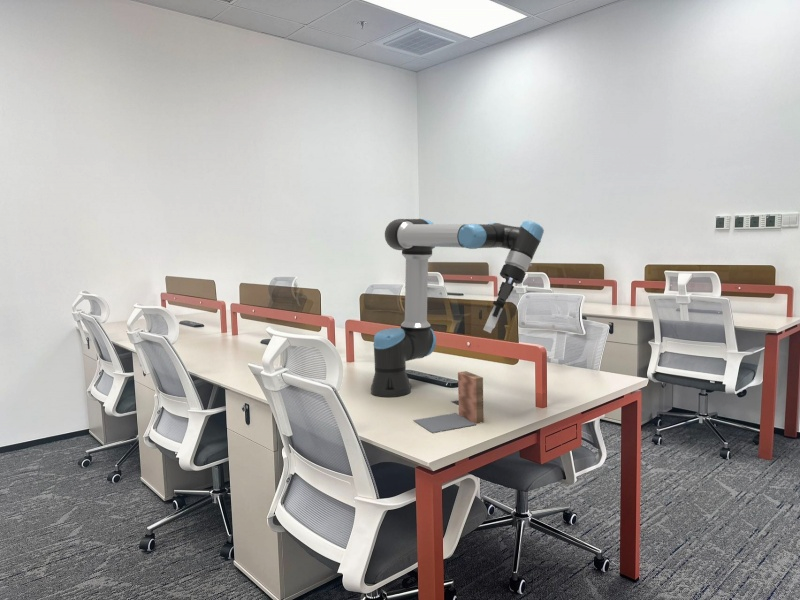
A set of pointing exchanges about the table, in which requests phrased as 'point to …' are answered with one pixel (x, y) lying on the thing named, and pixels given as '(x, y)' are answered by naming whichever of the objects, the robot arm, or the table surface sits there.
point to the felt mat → (444, 422)
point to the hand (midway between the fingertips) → (488, 329)
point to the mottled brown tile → (470, 396)
